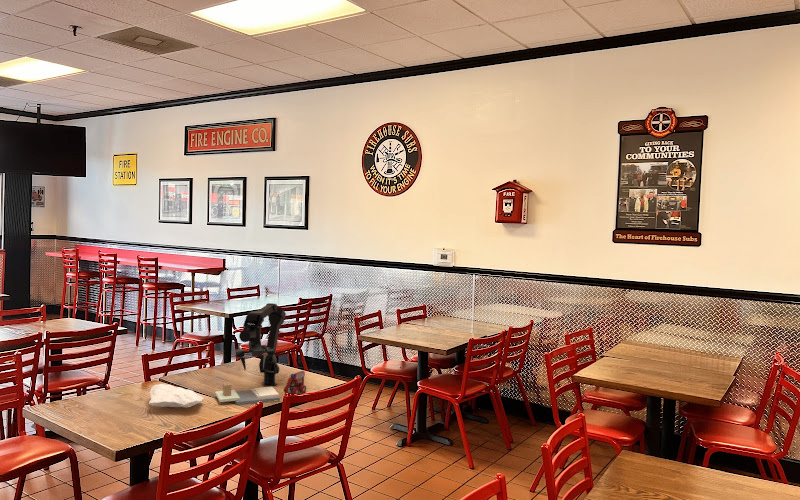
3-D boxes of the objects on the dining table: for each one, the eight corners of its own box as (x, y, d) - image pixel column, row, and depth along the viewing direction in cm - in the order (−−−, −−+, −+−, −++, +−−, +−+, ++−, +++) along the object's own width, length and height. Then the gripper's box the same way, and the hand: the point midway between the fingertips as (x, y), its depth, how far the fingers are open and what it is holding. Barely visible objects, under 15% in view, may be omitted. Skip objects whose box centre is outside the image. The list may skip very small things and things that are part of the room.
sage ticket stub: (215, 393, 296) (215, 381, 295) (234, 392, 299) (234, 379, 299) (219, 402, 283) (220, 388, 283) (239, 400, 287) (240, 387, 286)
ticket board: (229, 394, 301) (230, 388, 300) (270, 390, 309) (271, 385, 309) (236, 405, 284) (236, 399, 284) (279, 400, 293) (279, 394, 293)
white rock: (167, 418, 260) (170, 396, 260) (127, 400, 282) (130, 380, 283) (215, 414, 277) (218, 394, 278) (174, 397, 300) (177, 378, 301)
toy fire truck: (280, 395, 303) (281, 374, 302) (298, 389, 313) (298, 369, 313) (291, 397, 299) (291, 376, 298) (308, 391, 309) (308, 371, 309)
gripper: (238, 342, 292) (237, 375, 293) (277, 340, 299) (277, 371, 300) (234, 338, 302) (234, 369, 303) (272, 335, 309) (272, 366, 310)
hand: (254, 369), depth 304 cm, fingers open, 9 cm apart
